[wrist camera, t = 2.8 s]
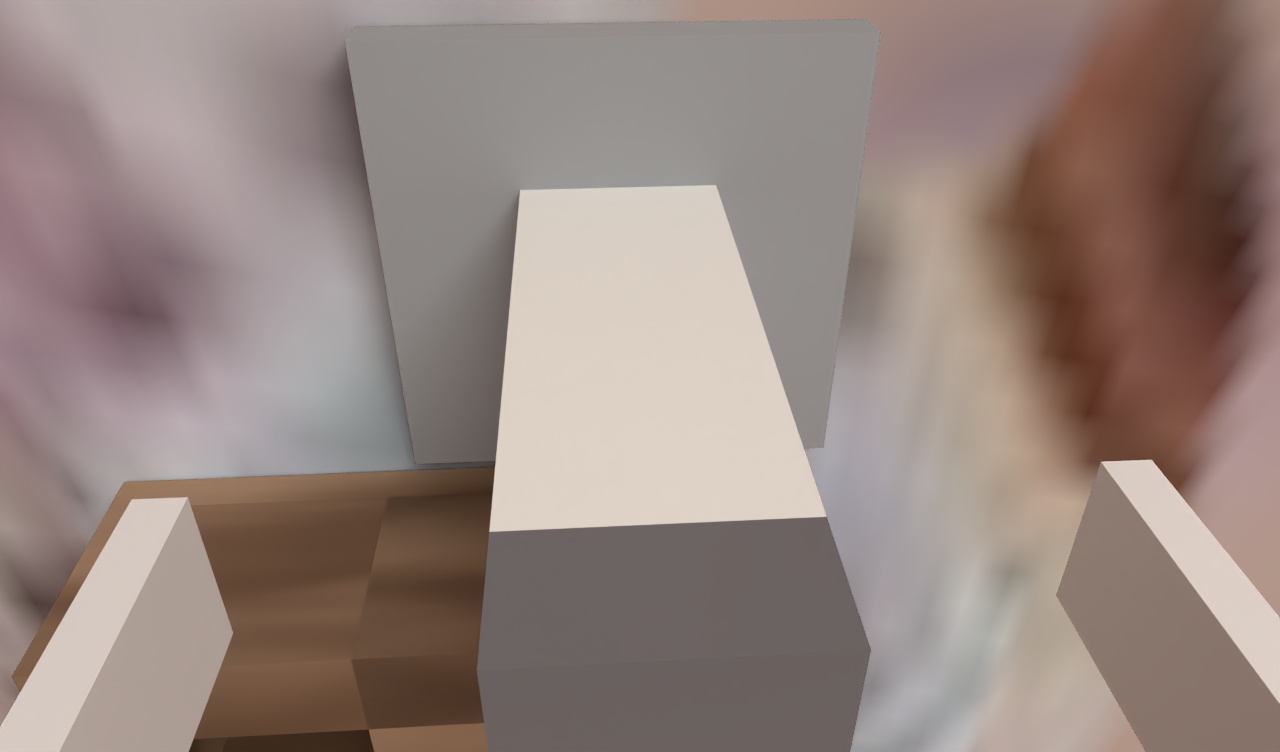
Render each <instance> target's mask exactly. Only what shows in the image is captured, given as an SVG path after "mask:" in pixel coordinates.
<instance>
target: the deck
mask: <svg viewBox="0 0 1280 752" xmlns="http://www.w3.org/2000/svg"><path fill="white" fill-rule="evenodd" d="M880 34H881V32H880V31H879V30H878V29H877V28H876V27H875V26H874V25H873V24H871V23H870V22H869V21H868V20H867V19H836V20H774V21H773V20H771V21H706V22H642V23H577V24H513V25H449V26H384V27H354V28H353V30H352V31H351V33H350V34H349V36H348V37H347V39H346V40H345V45H346V52H347V58H348V64H349V70H350V76H351V82H352V88H353V94H354V100H355V106H356V112H357V118H358V124H359V130H360V136H361V142H362V148H363V154H364V160H365V166H366V172H367V178H368V184H369V190H370V196H371V202H372V208H373V214H374V220H375V226H376V232H377V238H378V244H379V250H380V256H381V262H382V268H383V274H384V280H385V286H386V292H387V298H388V304H389V310H390V316H391V322H392V328H393V334H394V340H395V346H396V352H397V358H398V364H399V370H400V376H401V382H402V388H403V394H404V400H405V406H406V412H407V418H408V424H409V430H410V436H411V442H412V448H413V454H414V460H415V464H433V463H458V462H482V461H496V452H497V441H498V430H499V419H500V408H501V397H502V386H503V375H504V364H505V352H506V341H507V330H508V319H509V308H510V297H511V286H512V275H513V263H514V252H515V241H516V230H517V219H518V208H519V197H520V190H541V189H581V188H620V187H660V186H700V185H716V186H717V189H718V192H719V195H720V198H721V201H722V204H723V207H724V210H725V213H726V216H727V219H728V222H729V225H730V228H731V231H732V234H733V237H734V240H735V243H736V246H737V249H738V252H739V255H740V258H741V261H742V264H743V267H744V270H745V273H746V276H747V279H748V282H749V285H750V288H751V292H752V295H753V298H754V301H755V304H756V307H757V310H758V313H759V316H760V319H761V322H762V325H763V328H764V331H765V334H766V337H767V340H768V343H769V346H770V349H771V352H772V355H773V358H774V361H775V364H776V367H777V370H778V373H779V376H780V379H781V382H782V385H783V388H784V391H785V394H786V397H787V400H788V403H789V406H790V409H791V412H792V415H793V418H794V421H795V424H796V427H797V430H798V433H799V436H800V439H801V442H802V445H803V448H823V447H824V440H825V433H826V426H827V418H828V411H829V404H830V397H831V389H832V382H833V375H834V368H835V360H836V353H837V346H838V339H839V331H840V324H841V317H842V310H843V302H844V295H845V288H846V280H847V273H848V266H849V259H850V251H851V244H852V237H853V230H854V222H855V215H856V208H857V201H858V193H859V186H860V179H861V172H862V164H863V157H864V150H865V143H866V135H867V128H868V121H869V114H870V106H871V99H872V92H873V84H874V77H875V70H876V63H877V55H878V48H879V41H880Z"/></svg>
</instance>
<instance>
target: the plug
mask: <svg viewBox="0 0 1280 752" xmlns="http://www.w3.org/2000/svg"><path fill="white" fill-rule="evenodd" d="M870 651H871V649H870V646H869V643H868V640H867V637H866V634H865V631H864V628H863V625H862V622H861V619H860V616H859V613H858V610H857V607H856V604H855V601H854V598H853V595H852V592H851V589H850V586H849V583H848V580H847V577H846V574H845V571H844V568H843V565H842V562H841V559H840V556H839V553H838V550H837V547H836V544H835V541H834V538H833V535H832V532H831V529H830V526H829V523H828V520H827V517H826V514H825V511H824V508H823V505H822V502H821V499H820V496H819V493H818V490H817V487H816V484H815V481H814V478H813V475H812V472H811V469H810V466H809V463H808V460H807V457H806V454H805V451H804V448H803V445H802V442H801V439H800V436H799V433H798V430H797V427H796V424H795V421H794V418H793V415H792V412H791V409H790V406H789V403H788V400H787V397H786V394H785V391H784V388H783V385H782V382H781V379H780V376H779V373H778V370H777V367H776V364H775V361H774V358H773V355H772V352H771V349H770V346H769V343H768V340H767V337H766V334H765V331H764V328H763V325H762V322H761V319H760V316H759V313H758V310H757V307H756V304H755V301H754V298H753V295H752V292H751V288H750V285H749V282H748V279H747V276H746V273H745V270H744V267H743V264H742V261H741V258H740V255H739V252H738V249H737V246H736V243H735V240H734V237H733V234H732V231H731V228H730V225H729V222H728V219H727V216H726V213H725V210H724V207H723V204H722V201H721V198H720V195H719V192H718V189H717V186H716V185H700V186H660V187H620V188H581V189H541V190H520V197H519V208H518V219H517V230H516V241H515V252H514V263H513V275H512V286H511V297H510V308H509V319H508V330H507V341H506V352H505V364H504V375H503V386H502V397H501V408H500V419H499V430H498V441H497V452H496V464H495V475H494V486H493V497H492V508H491V519H490V530H489V541H488V552H487V564H486V575H485V586H484V597H483V608H482V619H481V630H480V641H479V653H478V664H477V675H478V682H479V689H480V696H481V703H482V710H483V717H484V724H485V731H486V738H487V745H488V752H850V750H851V745H852V740H853V735H854V730H855V725H856V720H857V715H858V710H859V705H860V700H861V695H862V690H863V686H864V681H865V676H866V671H867V666H868V661H869V656H870Z"/></svg>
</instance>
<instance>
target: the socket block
mask: <svg viewBox="0 0 1280 752" xmlns="http://www.w3.org/2000/svg"><path fill="white" fill-rule="evenodd" d="M494 475H495V467H480V468H456V469H431V470H407V471H383V472H358V473H334V474H310V475H286V476H261V477H237V478H213V479H188V480H164V481H140V482H124V483H123V485H122V487H121V488H120V490H119V492H118V494H117V495H116V497H115V499H114V501H113V502H112V504H111V506H110V507H109V509H108V511H107V513H106V514H105V516H104V518H103V520H102V521H101V523H100V525H99V527H98V528H97V530H96V532H95V533H94V535H93V537H92V539H91V540H90V542H89V544H88V546H87V547H86V549H85V551H84V553H83V554H82V556H81V558H80V559H79V561H78V563H77V565H76V566H75V568H74V570H73V572H72V573H71V575H70V577H69V579H68V580H67V582H66V584H65V585H64V587H63V589H62V591H61V592H60V594H59V596H58V598H57V599H56V601H55V603H54V605H53V606H52V608H51V610H50V611H49V613H48V615H47V617H46V618H45V620H44V622H43V624H42V625H41V627H40V629H39V631H38V632H37V634H36V636H35V637H34V639H33V641H32V643H31V644H30V646H29V648H28V650H27V651H26V653H25V655H24V657H23V658H22V660H21V662H20V663H19V665H18V667H17V669H16V670H15V672H14V674H13V676H12V678H13V680H14V682H15V684H16V686H17V687H18V689H19V691H20V692H21V690H22V688H23V687H24V685H25V683H26V682H27V680H28V678H29V676H30V675H31V673H32V671H33V669H34V668H35V666H36V664H37V662H38V661H39V659H40V657H41V656H42V654H43V652H44V650H45V649H46V647H47V645H48V643H49V642H50V640H51V638H52V637H53V635H54V633H55V631H56V630H57V628H58V626H59V624H60V623H61V621H62V619H63V617H64V616H65V614H66V612H67V611H68V609H69V607H70V605H71V604H72V602H73V600H74V598H75V597H76V595H77V593H78V591H79V590H80V588H81V586H82V585H83V583H84V581H85V579H86V578H87V576H88V574H89V572H90V571H91V569H92V567H93V566H94V564H95V562H96V560H97V559H98V557H99V555H100V553H101V552H102V550H103V548H104V546H105V545H106V543H107V541H108V540H109V538H110V536H111V534H112V533H113V531H114V529H115V527H116V526H117V524H118V522H119V520H120V519H121V517H122V515H123V514H124V512H125V510H126V508H127V507H128V505H129V503H130V501H131V500H132V499H155V498H180V497H188V499H189V502H190V505H191V508H192V511H193V514H194V517H195V520H196V523H197V526H198V529H199V532H200V535H201V538H202V541H203V544H204V547H205V550H206V553H207V556H208V559H209V562H210V565H211V568H212V571H213V574H214V577H215V580H216V583H217V586H218V589H219V592H220V595H221V598H222V601H223V604H224V607H225V610H226V613H227V616H228V619H229V622H230V625H231V628H232V631H233V635H232V638H231V641H230V643H229V646H228V649H227V651H226V654H225V656H224V659H223V662H222V664H221V667H220V670H219V672H218V675H217V678H216V680H215V683H214V686H213V688H212V691H211V694H210V696H209V699H208V702H207V704H206V707H205V710H204V712H203V715H202V718H201V720H200V723H199V725H198V728H197V731H196V733H195V736H194V739H193V741H192V744H191V747H190V749H189V752H488V745H487V738H486V731H485V724H484V717H483V710H482V703H481V696H480V689H479V682H478V675H477V664H478V653H479V641H480V630H481V619H482V608H483V597H484V586H485V575H486V564H487V552H488V541H489V530H490V519H491V508H492V497H493V486H494Z"/></svg>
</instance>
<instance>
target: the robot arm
mask: <svg viewBox="0 0 1280 752" xmlns="http://www.w3.org/2000/svg"><path fill="white" fill-rule="evenodd" d="M1056 596H1057V597H1058V599H1059V601H1060V603H1061V604H1062V606H1063V608H1064V610H1065V611H1066V613H1067V615H1068V617H1069V618H1070V620H1071V622H1072V624H1073V625H1074V627H1075V629H1076V631H1077V632H1078V634H1079V636H1080V638H1081V639H1082V641H1083V643H1084V645H1085V646H1086V648H1087V650H1088V652H1089V653H1090V655H1091V657H1092V659H1093V660H1094V662H1095V664H1096V666H1097V667H1098V669H1099V671H1100V673H1101V674H1102V676H1103V678H1104V680H1105V681H1106V683H1107V685H1108V687H1109V688H1110V690H1111V692H1112V694H1113V695H1114V697H1115V699H1116V701H1117V702H1118V704H1119V706H1120V708H1121V709H1122V711H1123V713H1124V715H1125V716H1126V718H1127V720H1128V722H1129V723H1130V725H1131V727H1132V729H1133V730H1134V732H1135V734H1136V736H1137V737H1138V739H1139V741H1140V743H1141V744H1142V746H1143V748H1144V750H1145V751H1146V752H1280V618H1279V616H1278V615H1277V614H1276V613H1275V611H1274V610H1273V609H1272V608H1271V606H1270V605H1269V604H1268V603H1267V602H1266V600H1265V599H1264V598H1263V597H1262V595H1261V594H1260V593H1259V592H1258V591H1257V589H1256V588H1255V587H1254V586H1253V584H1252V583H1251V582H1250V581H1249V579H1248V578H1247V577H1246V576H1245V574H1244V573H1243V572H1242V571H1241V570H1240V568H1239V567H1238V566H1237V565H1236V563H1235V562H1234V561H1233V560H1232V558H1231V557H1230V556H1229V555H1228V554H1227V552H1226V551H1225V550H1224V549H1223V547H1222V546H1221V545H1220V544H1219V542H1218V541H1217V540H1216V539H1215V537H1214V536H1213V535H1212V534H1211V533H1210V531H1209V530H1208V529H1207V528H1206V526H1205V525H1204V524H1203V523H1202V521H1201V520H1200V519H1199V518H1198V517H1197V515H1196V514H1195V513H1194V512H1193V510H1192V509H1191V508H1190V507H1189V505H1188V504H1187V503H1186V502H1185V500H1184V499H1183V498H1182V497H1181V496H1180V494H1179V493H1178V492H1177V491H1176V489H1175V488H1174V487H1173V486H1172V484H1171V483H1170V482H1169V481H1168V480H1167V478H1166V477H1165V476H1164V475H1163V473H1162V472H1161V471H1160V470H1159V468H1158V467H1157V466H1156V465H1155V464H1154V462H1153V461H1152V460H1136V461H1110V462H1101V463H1100V466H1099V469H1098V472H1097V475H1096V478H1095V481H1094V484H1093V487H1092V490H1091V493H1090V496H1089V499H1088V502H1087V505H1086V508H1085V511H1084V514H1083V517H1082V520H1081V523H1080V526H1079V529H1078V532H1077V535H1076V538H1075V541H1074V544H1073V547H1072V550H1071V553H1070V556H1069V559H1068V562H1067V565H1066V568H1065V571H1064V574H1063V577H1062V580H1061V583H1060V586H1059V589H1058V592H1057V595H1056ZM232 635H233V631H232V628H231V625H230V622H229V619H228V616H227V613H226V610H225V607H224V604H223V601H222V598H221V595H220V592H219V589H218V586H217V583H216V580H215V577H214V574H213V571H212V568H211V565H210V562H209V559H208V556H207V553H206V550H205V547H204V544H203V541H202V538H201V535H200V532H199V529H198V526H197V523H196V520H195V517H194V514H193V511H192V508H191V505H190V502H189V499H188V497H180V498H155V499H132V500H131V501H130V503H129V505H128V507H127V508H126V510H125V512H124V514H123V515H122V517H121V519H120V520H119V522H118V524H117V526H116V527H115V529H114V531H113V533H112V534H111V536H110V538H109V540H108V541H107V543H106V545H105V546H104V548H103V550H102V552H101V553H100V555H99V557H98V559H97V560H96V562H95V564H94V566H93V567H92V569H91V571H90V572H89V574H88V576H87V578H86V579H85V581H84V583H83V585H82V586H81V588H80V590H79V591H78V593H77V595H76V597H75V598H74V600H73V602H72V604H71V605H70V607H69V609H68V611H67V612H66V614H65V616H64V617H63V619H62V621H61V623H60V624H59V626H58V628H57V630H56V631H55V633H54V635H53V637H52V638H51V640H50V642H49V643H48V645H47V647H46V649H45V650H44V652H43V654H42V656H41V657H40V659H39V661H38V662H37V664H36V666H35V668H34V669H33V671H32V673H31V675H30V676H29V678H28V680H27V682H26V683H25V685H24V687H23V688H22V690H21V692H20V694H19V695H18V697H17V699H16V701H15V702H14V704H13V706H12V708H11V709H10V711H9V713H8V714H7V716H6V718H5V720H4V721H3V723H2V725H1V727H0V752H189V749H190V747H191V744H192V741H193V739H194V736H195V733H196V731H197V728H198V725H199V723H200V720H201V718H202V715H203V712H204V710H205V707H206V704H207V702H208V699H209V696H210V694H211V691H212V688H213V686H214V683H215V680H216V678H217V675H218V672H219V670H220V667H221V664H222V662H223V659H224V656H225V654H226V651H227V649H228V646H229V643H230V641H231V638H232Z"/></svg>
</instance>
